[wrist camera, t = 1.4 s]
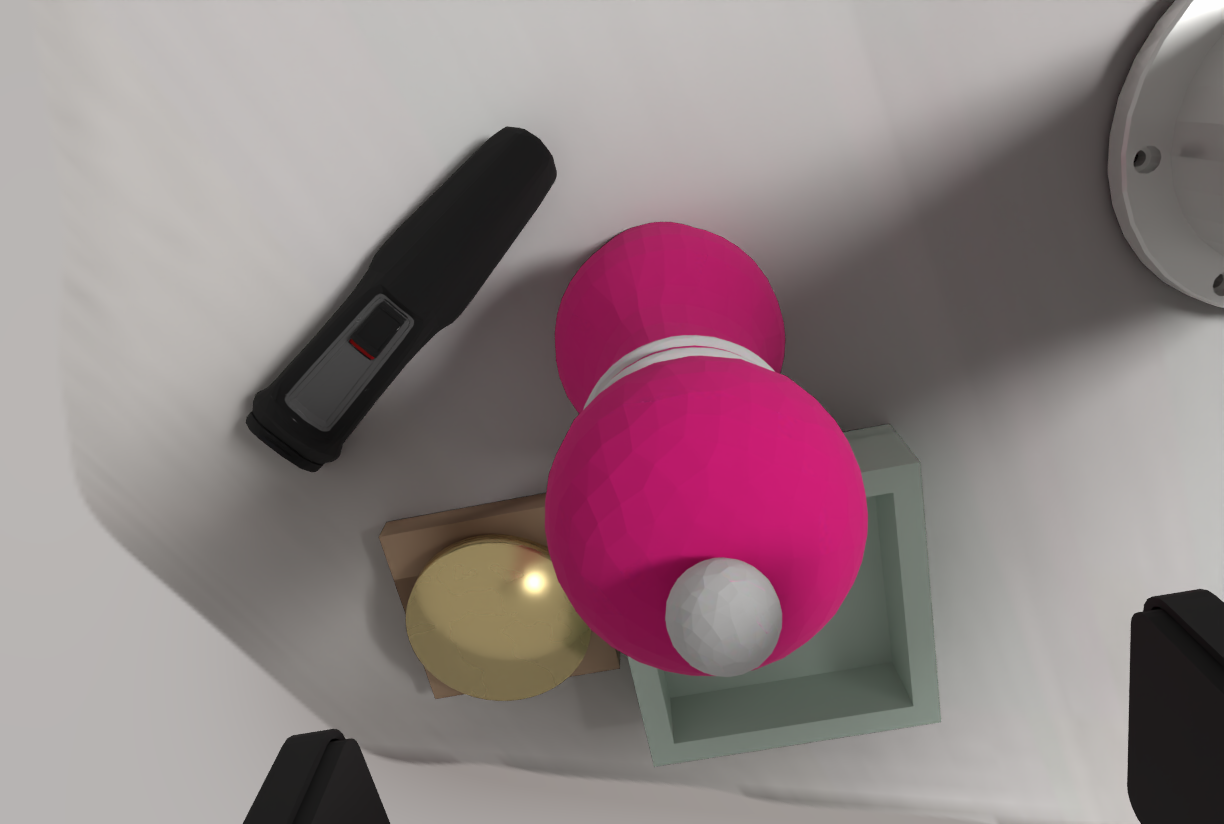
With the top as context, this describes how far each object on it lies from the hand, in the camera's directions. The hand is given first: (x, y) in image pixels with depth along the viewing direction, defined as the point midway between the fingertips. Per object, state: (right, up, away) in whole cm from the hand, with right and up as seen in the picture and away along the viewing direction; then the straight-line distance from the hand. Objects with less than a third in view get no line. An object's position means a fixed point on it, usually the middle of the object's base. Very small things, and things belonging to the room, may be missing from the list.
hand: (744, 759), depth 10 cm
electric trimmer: (-10, +8, +21) cm, 24 cm away
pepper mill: (0, +8, +21) cm, 22 cm away
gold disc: (-6, -3, +25) cm, 26 cm away
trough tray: (+5, -3, +25) cm, 25 cm away
